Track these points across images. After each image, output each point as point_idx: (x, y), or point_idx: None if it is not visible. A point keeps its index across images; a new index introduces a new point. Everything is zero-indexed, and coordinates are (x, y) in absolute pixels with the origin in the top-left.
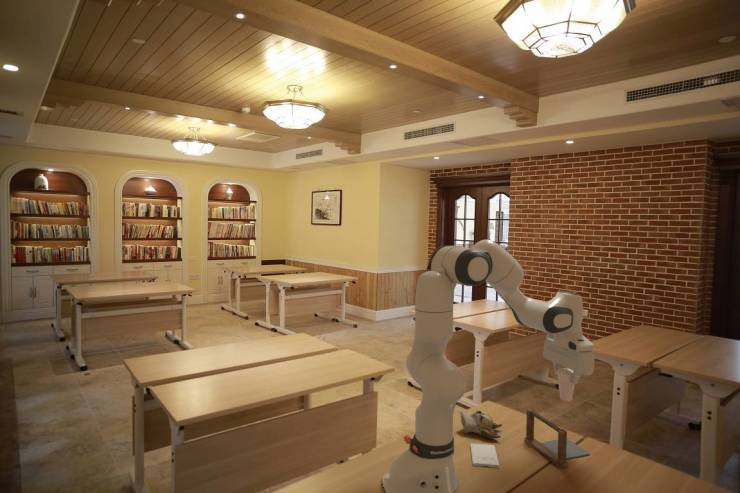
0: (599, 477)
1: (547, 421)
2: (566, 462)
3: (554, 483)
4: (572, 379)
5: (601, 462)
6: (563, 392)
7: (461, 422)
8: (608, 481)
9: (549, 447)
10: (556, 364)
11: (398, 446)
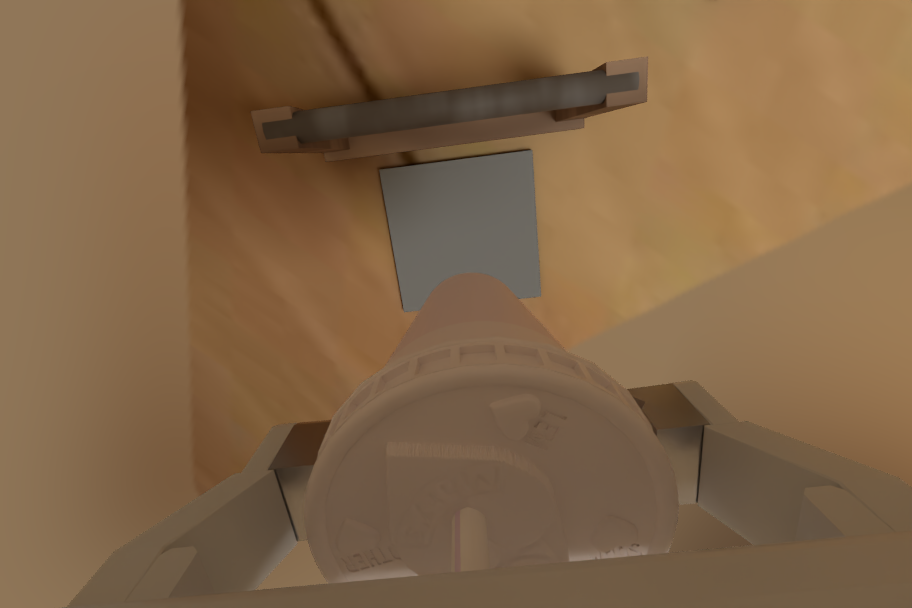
0: (246, 242)
1: (418, 101)
2: (329, 157)
3: (203, 11)
4: (287, 453)
5: (348, 318)
6: (434, 298)
7: None
8: (219, 258)
9: (481, 168)
10: (807, 528)
11: None
